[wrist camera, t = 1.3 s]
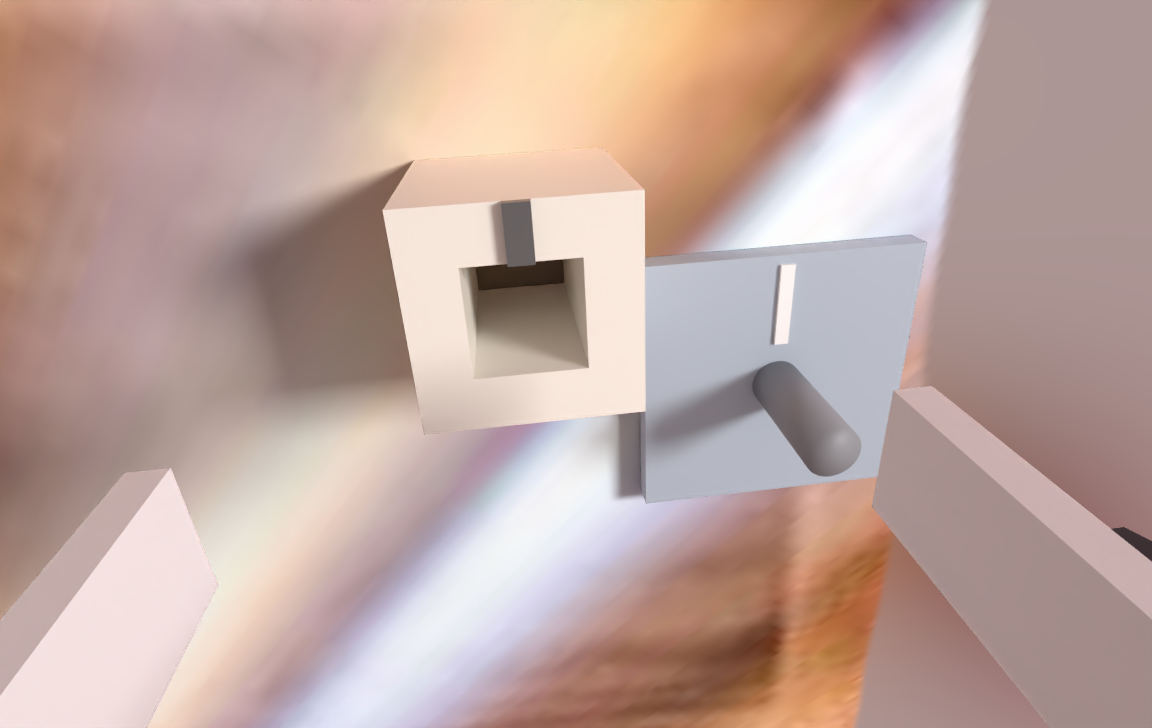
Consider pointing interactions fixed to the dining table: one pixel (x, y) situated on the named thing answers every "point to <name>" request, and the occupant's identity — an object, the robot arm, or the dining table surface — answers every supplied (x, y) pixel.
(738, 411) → the plate
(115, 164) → the dining table surface
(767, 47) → the dining table surface
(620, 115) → the dining table surface
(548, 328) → the cube with square hole
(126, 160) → the dining table surface
